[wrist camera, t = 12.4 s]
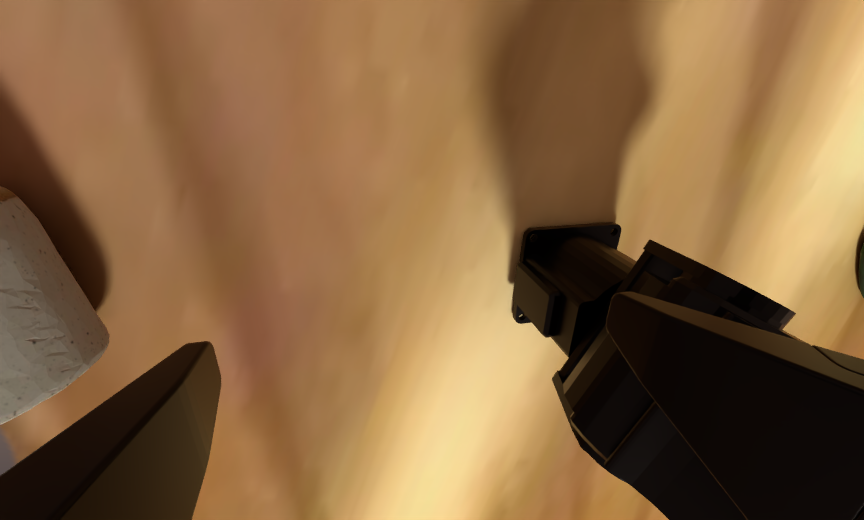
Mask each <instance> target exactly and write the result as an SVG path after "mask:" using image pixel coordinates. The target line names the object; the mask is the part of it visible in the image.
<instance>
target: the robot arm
mask: <svg viewBox="0 0 864 520" xmlns="http://www.w3.org/2000/svg"><path fill="white" fill-rule="evenodd" d="M612 229H614V230H613V232H612V233H611V230H612ZM533 234H534V238H532V239H530V236H531V235H533ZM620 234H621V227H620V226H619V225H618V224H616V223H613V222H609V223H595V224H580V225H565V226H550V227H536V228H529V229H527V230H526V231H525V232H524V234H523V239H522V246H521V254H520V262H519V263H518V265H517V268H516V276H515V284H514V292H513V301H514V309H513V318H514V319H515V321H516V322H517V323H520V324H522V323H530V322H532V323H533V324H534V325H535V327H536V328H537V329H538V330H539V331H540V333H541V334H542V335H543V336H544V337H551V338H552V339H553V340H554V341H555V342H556V344H557V345H558V346H559V347H560V348H561V349H562V351H563V352H564V353H565V354H566V355H567V356H568V357H569V358H568V360H567V361H566V363H565V364H564V365H563V367H562V368H561V370H560V371H557V372H556V373H555V375H554V376H553V378H552V381H553V383H554V386H555V388H556V391H557V393H558V396H559V398H560V401H561V403H562V406H563V408H564V411H565V413H566V416H567V418H568V421H569V423H570V426H571V428H572V431H573V433H574V435H575V437H576V438H577V440H578V443H579V445H580V447H581V448H582V449H583V450H584V451H586V452H587V453H588V454H589V455H590V456H591V457H592V458H593V459H594V460H595V461H596V462H597V463H598V464H599V465H601V466H602V467H603V468H604V469H606V470H607V471H608V472H609V473H611V474H613V475H614V476H616V477H617V478H619V479H620V480H622V481H624V482H626V483H628V484H630V485H631V486H632V487H633V488H635V489H636V490H637V491H638V492H639V493H641V494H642V495H643V496H644V497H645V498H647V499H648V500H649V501H650V502H651V503H652V504H653V505H655V506H656V507H657V508H658V509H659V510H660V511H661V512H662V513H663V514H664V515H665V516H666V517H667V518H668V519H669V520H864V360H863V359H860V358H856V357H853V356H849V355H846V354H842V353H839V352H835V351H832V350H829V349H825V348H822V347H818V346H815V345H813V346H811V345H810V344H808V343H806V342H804V341H802V340H800V339H798V338H796V337H795V336H793V335H791V334H789V333H787V332H785V331H784V330H782V329H783V328H784V327H785V326H786V325H787V323H788V322H789V321H790V320H791V319H792V318H793V317H794V315H795V314H796V313H795V312H793V311H791V310H790V309H788V308H786V307H784V306H782V305H781V304H779V303H777V302H775V301H773V300H771V299H769V298H768V297H766V296H764V295H762V294H760V293H758V292H756V291H754V290H752V289H750V288H748V287H747V286H745V285H743V284H741V283H739V282H737V281H735V280H733V279H731V278H729V277H727V276H725V275H723V274H721V273H719V272H717V271H715V270H713V269H711V268H709V267H707V266H705V265H703V264H701V263H699V262H697V261H694V260H692V259H690V258H688V257H686V256H684V255H682V254H680V253H677V252H675V251H673V250H671V249H669V248H667V247H665V246H663V245H660V244H658V243H656V242H654V241H652V240H649V241H648V242H647V244H646V245H645V247H644V248H643V249H644V250H645V251H644V252H643V253H642V255H641V256H640V258H639V259H638V260H637V262H636V261H635V260H633V259H631V258H630V257H628V256H626V255H625V254H623V253H621V252H619V251H618V250H617V246H618V242H619V238H620ZM521 314H523V315H522V316H521V317H519V316H520V315H521ZM220 389H221V374H220V370H219V366H218V363H217V359H216V355H215V351H214V347H213V345H212V344H211V343H210V342H208V341H204V342H195V343H188V344H185V345H184V346H182V347H181V348H179V349H178V350H177V351H175V352H174V353H172V354H171V355H170V356H168V357H167V358H165V359H164V360H163V361H161V362H160V363H158V364H157V365H156V366H154V367H153V368H151V369H150V370H148V371H147V372H146V373H144V374H143V375H141V376H140V377H139V378H137V379H136V380H134V381H133V382H132V383H130V384H129V385H127V386H126V387H125V388H123V389H122V390H120V391H119V392H118V393H116V394H115V395H113V396H112V397H110V398H109V399H108V400H106V401H105V402H103V403H102V404H101V405H99V406H98V407H96V408H95V409H94V410H92V411H91V412H89V413H88V414H87V415H85V416H84V417H82V418H81V419H79V420H78V421H77V422H75V423H74V424H72V425H71V426H70V427H68V428H67V429H65V430H64V431H63V432H61V433H60V434H58V435H57V436H56V437H54V438H53V439H51V440H50V441H48V442H47V443H46V444H44V445H43V446H41V447H40V448H39V449H37V450H36V451H34V452H33V453H32V454H30V455H29V456H27V457H26V458H25V459H23V460H22V461H20V462H19V463H17V464H16V465H15V466H13V467H12V468H10V469H9V470H8V471H6V472H5V473H3V474H2V475H1V476H0V520H192V517H193V513H194V510H195V507H196V503H197V500H198V496H199V493H200V489H201V486H202V482H203V479H204V476H205V472H206V468H207V464H208V460H209V455H210V450H211V444H212V438H213V432H214V426H215V420H216V414H217V407H218V401H219V395H220Z"/></svg>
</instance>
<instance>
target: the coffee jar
mask: <svg viewBox="0 0 864 520" xmlns="http://www.w3.org/2000/svg"><path fill="white" fill-rule="evenodd" d="M859 285H860V291H861V294H862V296H863V298H864V243H863V246H862V249H861V254H860V264H859Z"/></svg>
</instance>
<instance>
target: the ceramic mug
mask: <svg viewBox="0 0 864 520" xmlns="http://www.w3.org/2000/svg"><path fill="white" fill-rule="evenodd" d="M108 344H109V333H108V331H107V328H106V327H105V325H104V324H103V322H102V321H101V319H100V318H99V317H98V315H97V313H96V312H95V310H94V309H93V307H92V305H91V304H90V302H89V300H88V299H87V297H86V296H85V294H84V292H83V291H82V289H81V288H80V286H79V285H78V283H77V281H76V280H75V278H74V277H73V275H72V274H71V272H70V270H69V269H68V267H67V266H66V264H65V263H64V261H63V260H62V258H61V257H60V255H59V254H58V252H57V250H56V249H55V247H54V245H53V243H52V242H51V240H50V238H49V236H48V235H47V233H46V231H45V230H44V228H43V226H42V225H41V223H40V222H39V220H38V219H37V217H36V216H35V215H34V214H33V213H32V212H31V211H30V210H29V209H28V207H27V206H26V205H25V204H24V203H23V202H22V201H21V199H20V198H18V197H17V196H16V195H15V194H14V193H13V192H11V191H10V190H8V189H6V188H4V187H1V186H0V425H1V424H3V423H5V422H7V421H9V420H11V419H13V418H15V417H17V416H19V415H21V414H23V413H25V412H27V411H28V410H30V409H32V408H33V407H35V406H36V405H38V404H39V403H41V402H43V401H45V400H46V399H48V398H50V397H52V396H54V395H55V394H57V393H58V392H60V391H62V390H63V389H65V388H66V387H67V386H68V385H70V384H71V383H72V382H73V381H75V380H76V379H77V378H78V377H80V376H81V375H82V374H83V373H85V372H86V371H87V370H88V369H89V368H90V367H91V366H92V365H93V364H94V363H95V362H96V361H97V360H99V359H100V357H101V356H102V355H103V353H104V352H105V350H106V348H107V346H108Z"/></svg>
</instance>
